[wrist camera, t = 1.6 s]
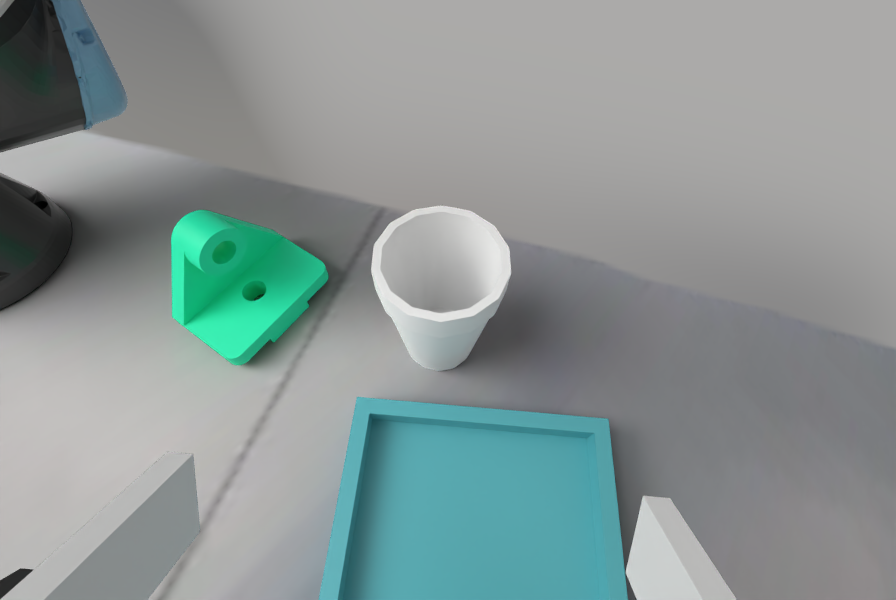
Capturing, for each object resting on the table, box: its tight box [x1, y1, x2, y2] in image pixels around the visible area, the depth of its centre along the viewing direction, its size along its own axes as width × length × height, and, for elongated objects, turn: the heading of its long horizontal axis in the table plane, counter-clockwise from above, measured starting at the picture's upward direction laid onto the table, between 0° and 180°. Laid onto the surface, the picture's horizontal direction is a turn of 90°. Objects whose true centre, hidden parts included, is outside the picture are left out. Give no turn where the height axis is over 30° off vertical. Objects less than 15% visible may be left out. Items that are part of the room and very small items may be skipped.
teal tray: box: [319, 397, 628, 600], centre depth 30 cm, size 20×20×3 cm
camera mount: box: [171, 210, 329, 365], centre depth 37 cm, size 12×8×10 cm, turn 146°
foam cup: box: [371, 205, 511, 371], centre depth 34 cm, size 10×9×13 cm
